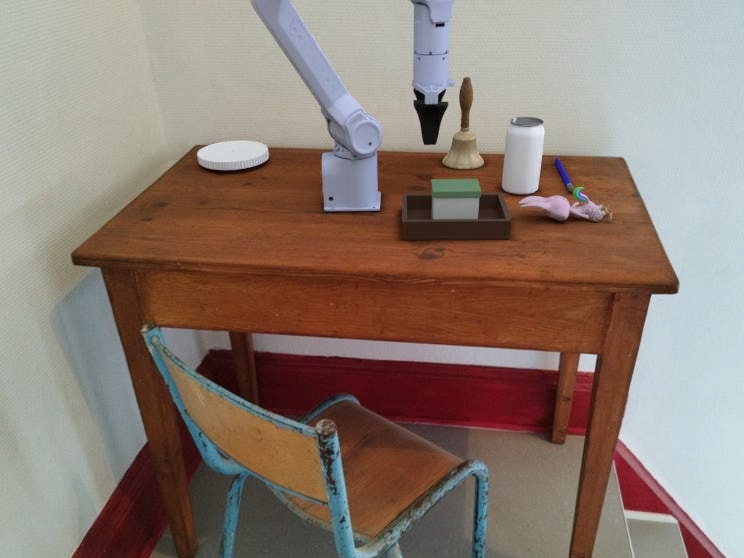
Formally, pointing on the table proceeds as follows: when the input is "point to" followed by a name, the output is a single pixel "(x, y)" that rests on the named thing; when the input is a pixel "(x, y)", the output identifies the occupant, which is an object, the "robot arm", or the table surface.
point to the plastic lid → (233, 155)
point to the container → (455, 198)
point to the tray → (455, 220)
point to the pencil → (564, 175)
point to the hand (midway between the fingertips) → (429, 137)
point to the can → (523, 155)
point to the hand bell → (464, 135)
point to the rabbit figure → (567, 206)
